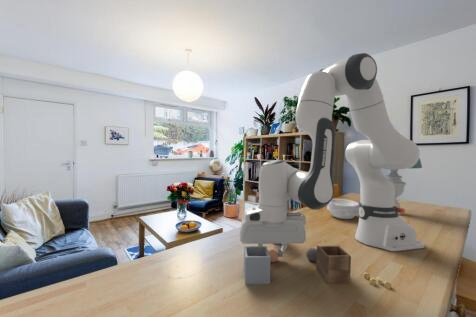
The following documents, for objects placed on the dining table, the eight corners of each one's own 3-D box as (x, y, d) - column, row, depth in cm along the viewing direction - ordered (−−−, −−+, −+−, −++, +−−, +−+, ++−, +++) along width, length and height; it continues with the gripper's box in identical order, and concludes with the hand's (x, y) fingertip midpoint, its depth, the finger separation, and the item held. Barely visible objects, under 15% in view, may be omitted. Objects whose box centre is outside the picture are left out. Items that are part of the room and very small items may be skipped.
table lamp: (423, 222, 109) (426, 139, 107) (366, 214, 122) (368, 140, 120) (416, 211, 129) (419, 141, 127) (369, 205, 142) (371, 142, 140)
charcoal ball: (316, 257, 72) (317, 245, 72) (321, 264, 68) (322, 251, 68) (304, 257, 72) (304, 245, 72) (309, 264, 68) (309, 251, 68)
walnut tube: (338, 270, 65) (338, 245, 64) (350, 284, 58) (350, 256, 58) (316, 271, 64) (316, 245, 64) (325, 284, 58) (326, 256, 58)
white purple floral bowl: (365, 221, 110) (365, 205, 109) (334, 221, 110) (334, 205, 109) (350, 212, 125) (350, 198, 124) (322, 212, 125) (323, 198, 125)
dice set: (391, 292, 56) (392, 285, 56) (369, 290, 57) (369, 282, 57) (382, 281, 61) (382, 274, 61) (362, 278, 62) (362, 272, 62)
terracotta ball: (277, 258, 72) (277, 246, 72) (279, 264, 68) (280, 251, 68) (264, 258, 72) (264, 246, 72) (266, 264, 68) (266, 251, 68)
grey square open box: (266, 271, 64) (266, 246, 64) (270, 285, 57) (270, 257, 57) (243, 272, 64) (243, 246, 63) (245, 285, 57) (245, 257, 57)
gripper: (302, 209, 73) (301, 251, 73) (239, 209, 72) (239, 252, 73) (309, 215, 66) (308, 261, 67) (240, 215, 66) (240, 261, 66)
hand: (272, 256), depth 70 cm, fingers closed on terracotta ball, 4 cm apart
